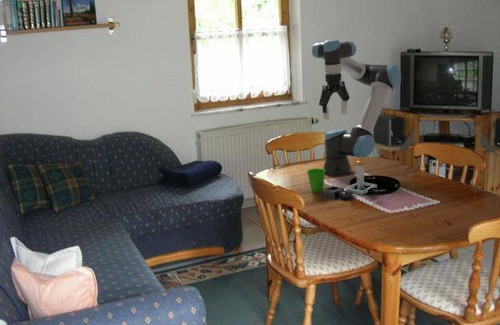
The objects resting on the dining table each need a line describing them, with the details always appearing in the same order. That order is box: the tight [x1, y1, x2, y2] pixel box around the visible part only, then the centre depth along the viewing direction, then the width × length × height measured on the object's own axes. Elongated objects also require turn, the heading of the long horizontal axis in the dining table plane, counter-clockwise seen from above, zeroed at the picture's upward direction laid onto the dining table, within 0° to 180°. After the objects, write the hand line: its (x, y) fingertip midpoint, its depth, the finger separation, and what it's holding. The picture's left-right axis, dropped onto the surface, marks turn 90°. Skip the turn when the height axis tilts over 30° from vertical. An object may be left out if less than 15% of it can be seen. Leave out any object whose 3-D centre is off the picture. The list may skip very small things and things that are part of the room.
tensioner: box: [320, 184, 357, 202], centre depth 279 cm, size 9×15×5 cm, turn 42°
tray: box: [344, 181, 378, 196], centre depth 285 cm, size 12×10×2 cm
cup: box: [306, 167, 325, 193], centre depth 288 cm, size 9×9×11 cm
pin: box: [355, 159, 365, 191], centre depth 283 cm, size 4×4×14 cm
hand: (335, 116), depth 290 cm, fingers open, 13 cm apart
